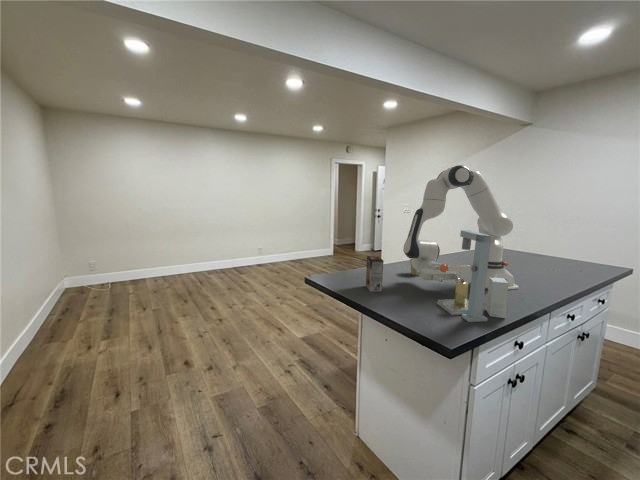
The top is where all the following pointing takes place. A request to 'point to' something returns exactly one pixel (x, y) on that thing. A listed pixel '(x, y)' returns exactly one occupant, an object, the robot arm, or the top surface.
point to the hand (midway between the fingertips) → (450, 280)
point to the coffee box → (374, 273)
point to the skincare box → (497, 297)
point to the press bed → (454, 307)
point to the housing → (461, 293)
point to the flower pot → (413, 269)
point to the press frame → (477, 273)
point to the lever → (457, 268)
